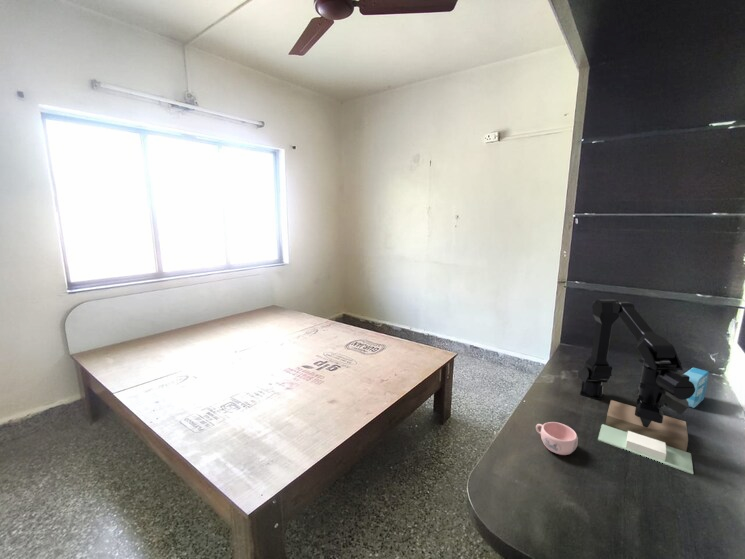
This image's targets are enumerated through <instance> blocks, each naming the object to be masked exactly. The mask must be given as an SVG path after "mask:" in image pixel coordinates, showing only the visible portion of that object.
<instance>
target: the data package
mask: <svg viewBox="0 0 745 559" xmlns="http://www.w3.org/2000/svg"><path fill="white" fill-rule="evenodd" d="M683 374H685V375H687V376H689V377H690V378H689V381H690V382H692V383H693V384H694V387H695V392H694V394H693V395H692V396H691V397H690V398H688V399H686V400H687V401H688V403H689V407H690V408H693V409H694V408H696V407H697V406H698V405H699V404H700V403H702V402H703V400H704V399H705V396H706V391H707V386H708V381H709V378H710V377H709V376H710V372H709V371H707V370H704V369H700V368H698V367H692V368H690V369H689V370H687V371H686V372H685V373H683Z"/></svg>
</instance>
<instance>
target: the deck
mask: <svg viewBox="0 0 745 559" xmlns="http://www.w3.org/2000/svg"><path fill="white" fill-rule="evenodd" d="M635 409H636V406H633V405H630V404H626V403H623V402H619V401H616V400H613V399H610V402H609V406H608V410H607V414H606V420H605V425H607V426H610V427H613V428H616V429H619V430H622V431H625V432H628V431H631V432H634V433H637V434H640V435H643V436H646V437H649V438H652V439H656V440H659V441H662V442H665V444H666V445H667V446H670V447H673V448H676V449H679V450H682V451H685V452H687V451H688V450H687V449H688V445H689V444H688V443H689V435H688V429H687V421H685V420H682V419H677V418H674V417H671V416H667V415H664V414H663V421H662V423H657V422H654V421H651V423H650V424H649V426H648V427H644V426H643V424H642V422H641V419H640V417H637V416H636V415H635Z"/></svg>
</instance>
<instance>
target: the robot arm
mask: <svg viewBox="0 0 745 559" xmlns="http://www.w3.org/2000/svg"><path fill="white" fill-rule="evenodd" d="M591 309H592V310H591V311H592V317H593V318H594V320H595V327H594V328H595V329H594V335H593V342H592V349H591V355H590V357H588V359H587V360H586V361H585V362H584V366H583V368H582V369H580V370H578V371H577V376H578V378H579V379H580V380H581V387H580V388H581V389H580V391H579V395H581V396H584V397H588V398H591V399H594V400H597V401H600V398H602V397H603V391H604V384H603V383H608V381H609V379H610V378H611V377H612V372H613V366H612V365H611V364H609V362H608V354H609V348H610V340H611V336H612V335H611V334H612V328H613V324H615V322H616V321H617V320H618V319H619V318H620V319H621V320H622V322H623V323H624V324H625V325H626V327H627V328H628V330H629V331H630V332H631V334H632V335H633V336H634V338H635V339H636V341H637V350H638V352H639V353H640V355H641V357H640V358H638V360H637V361H638V362H640V363H641V364H643V365H642V371H641V378H640V381H639V382H640V383H639V385H638V386H637V395H638V396H637V399H636V405H635V407H636V409H635V415H636V416H637V417H640V419H641V422H642V424H643V426H644V427H648V426H649V424H650V423H651V421H654V422H657V423H662V421H663V415H664V412H663V410H662V408H664V406H666V407H667V408H669V409H671V410H673V411H675V412H676V414H678V415H683V414H684V413H685V412H686V411H687V409H689V407H690V406H689V403H688V401H687V400H686V399H688V398H690V397H691V396H692V395H693V394H694V392H695V387H694V384H693V383H692V382H690V381H689V378H690V377H689V376H687V375H685V374H684V373H682V372H680V371H683V369H684V368H683V367H682V362H681V361H680V358H679V356H678V354H677V351H676V348H675V347H674V345H673V344H672V343H670V341H668V339H666V337H663V336H662V335H658V334H657V333H656V332H654V330H653V329H652V328H651V327H650V325H649V324H648V323H647V322H646V320H644V318H643V317H642V315H641V314H640V313H639V312H638V311H637V310H636V308H635V304H634V303H632V302H629V301H618V300H616V299H596V300H595V301H593V303H592V307H591ZM661 362H662V363H661ZM665 362H666V363H665ZM667 362H668V363H667ZM669 362H670V363H669Z"/></svg>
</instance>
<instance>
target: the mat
mask: <svg viewBox="0 0 745 559" xmlns="http://www.w3.org/2000/svg"><path fill="white" fill-rule="evenodd" d="M627 433H628V432H625V431H622V430H619V429H616V428H613V427H610V426H607V425H606V424H604V423H602V424H601V425H600V430H599V432H598V437H597V441H598V442H600V443H605V444H608V445H611V446H612V447H614V448H615V447H616V448H619V449H621V450H623V449H624V450H623V451H626V450H627V451H626V452H629V451H630V453H632V454H635V455H637V456H640V455H641V457H643V458H646V457H647V458H646V459H648V458H649V460H651V459H652V460H651V461H654V460H655V462H657V461H658V462H657V463H659V462H660V463H659V464H662V463H663V464H662V465H664V466H665V465H666V466H668V467H671V468H673V469H676V470H678V471H679V470H680V471H682V472H685V473H687V474H691V475H694V467H693V458H692V453H690V452H687V451H686V452H685V451H682V450H679V449H676V448H673V447H670V446H667V445H666V458H665V461H662V460H660V459H657V458H654V457H651V456H648V455H645V454H642V453H639V452H637V451H634V450H631V449H628V448H626V441H627Z"/></svg>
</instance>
